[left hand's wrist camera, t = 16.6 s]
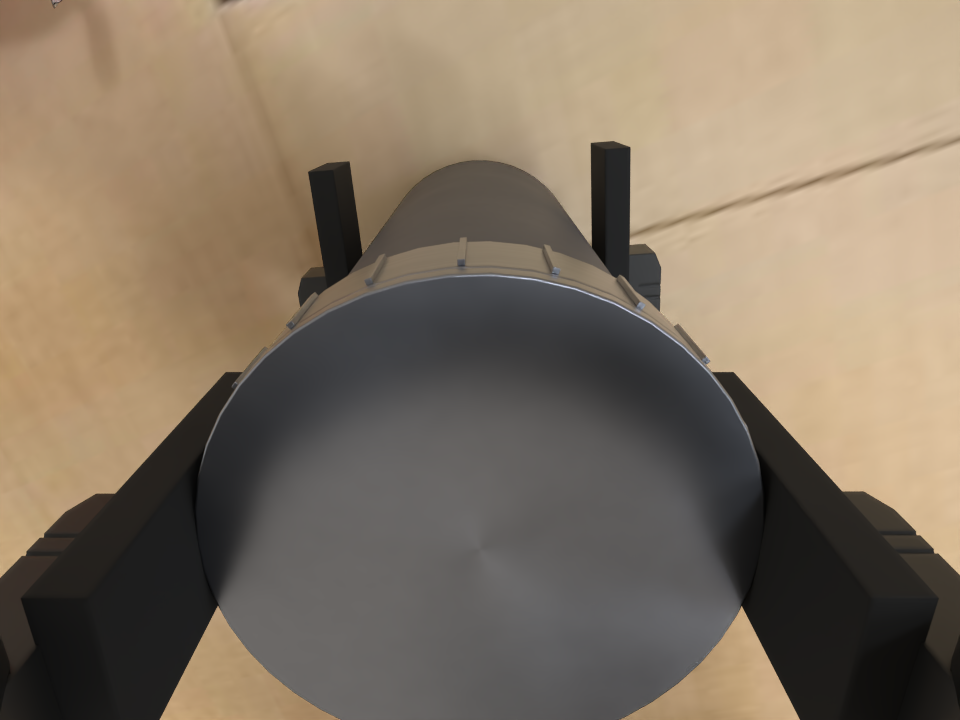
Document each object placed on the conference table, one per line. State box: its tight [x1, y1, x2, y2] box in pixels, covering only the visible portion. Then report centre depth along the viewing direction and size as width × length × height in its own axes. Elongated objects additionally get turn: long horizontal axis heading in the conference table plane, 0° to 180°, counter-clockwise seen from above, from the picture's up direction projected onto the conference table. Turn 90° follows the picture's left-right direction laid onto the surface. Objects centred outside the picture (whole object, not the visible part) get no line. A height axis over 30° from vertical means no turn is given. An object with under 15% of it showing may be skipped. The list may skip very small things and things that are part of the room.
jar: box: [349, 161, 612, 276], centre depth 20 cm, size 8×8×19 cm
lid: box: [195, 237, 765, 720], centre depth 11 cm, size 9×9×2 cm
